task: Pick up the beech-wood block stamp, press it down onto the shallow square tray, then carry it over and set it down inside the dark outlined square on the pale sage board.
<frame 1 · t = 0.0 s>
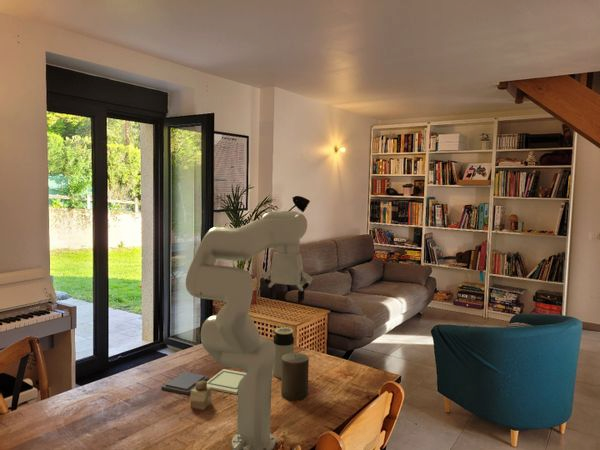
hand: (286, 300, 153), 37 cm above the table, tool pointing down, fingers open, 9 cm apart
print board: (229, 381, 174), on the table
stamp: (201, 405, 156), on the table
shallow square tray: (185, 384, 171), on the table
pillar candle: (294, 394, 166), on the table
travel mug: (282, 375, 182), on the table
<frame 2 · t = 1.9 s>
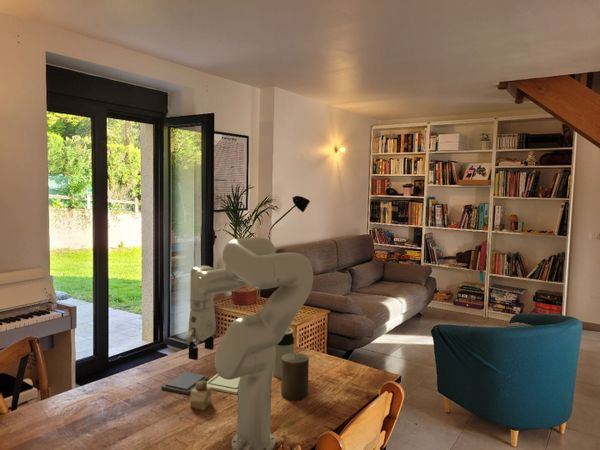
hand: (201, 353, 154), 18 cm above the table, tool pointing down, fingers open, 9 cm apart
nothing on the table moved.
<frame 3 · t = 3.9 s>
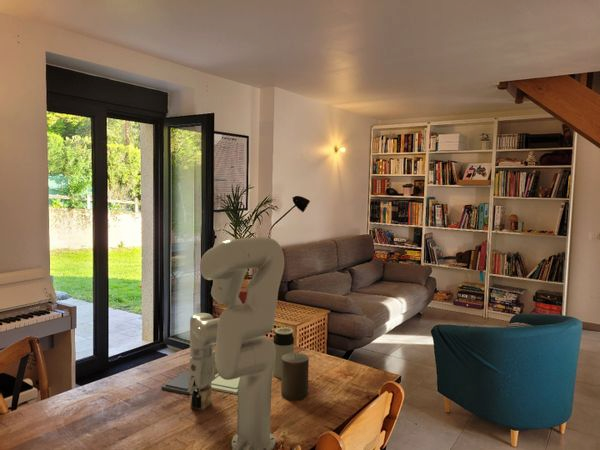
hand: (201, 402, 155), 1 cm above the table, tool pointing down, fingers closed on stamp, 5 cm apart
stamp: (201, 405, 156), on the table, touching gripper
everything else where it was.
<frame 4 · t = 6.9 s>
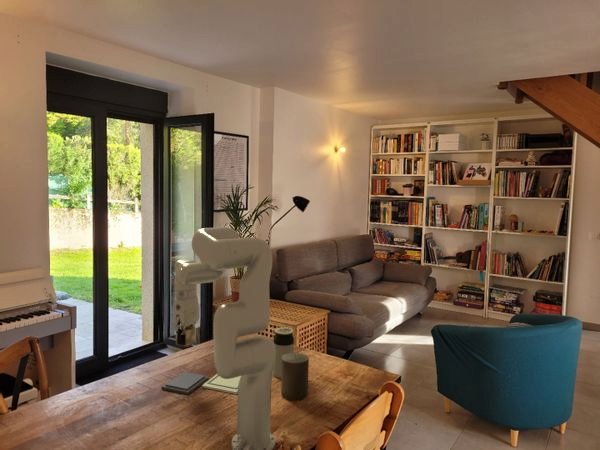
hand: (185, 341, 170), 16 cm above the table, tool pointing down, fingers closed on stamp, 5 cm apart
stamp: (185, 343, 170), point 15 cm above the table, touching gripper
everything else where it was.
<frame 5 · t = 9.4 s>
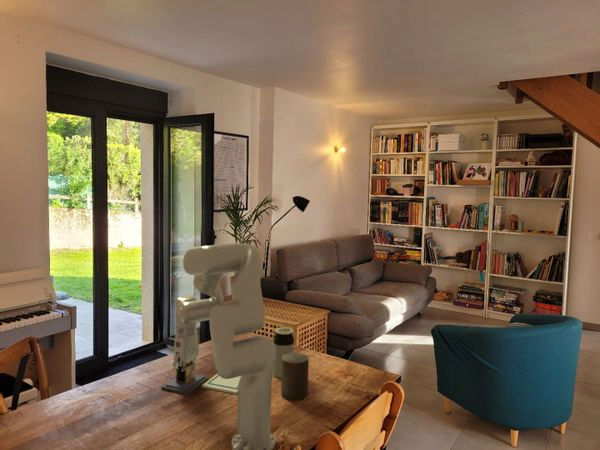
hand: (185, 377, 171), 3 cm above the table, tool pointing down, fingers closed on stamp, 5 cm apart
stamp: (185, 379, 171), point 2 cm above the table, touching gripper, shallow square tray
everything else where it was.
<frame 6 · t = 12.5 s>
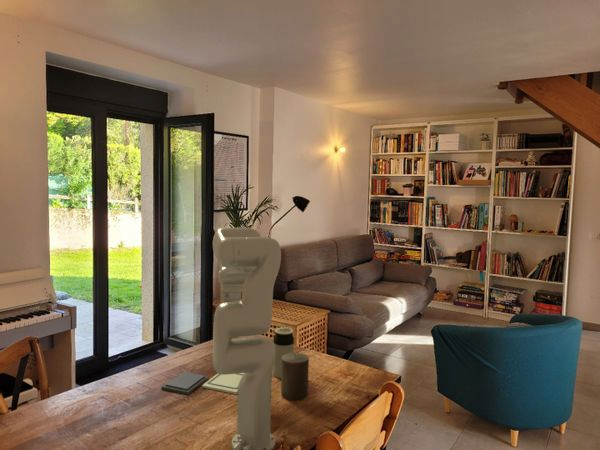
hand: (230, 342, 173), 15 cm above the table, tool pointing down, fingers closed on stamp, 5 cm apart
stamp: (230, 344, 173), point 14 cm above the table, touching gripper
everything else where it was.
when the fingers open (2 cm above the table, at t = 15.1 s): stamp stays where it is, resting on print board.
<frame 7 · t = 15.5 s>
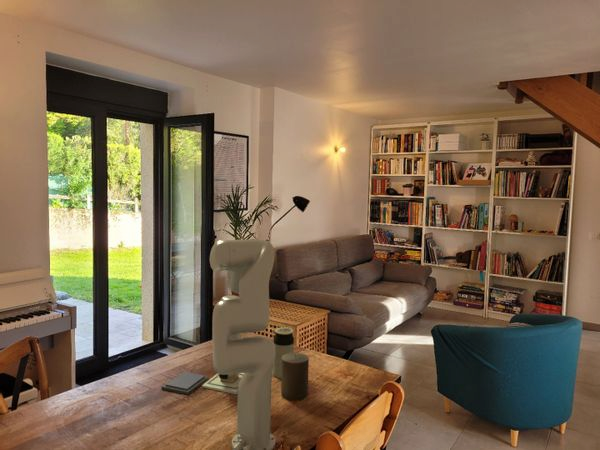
hand: (229, 373, 174), 3 cm above the table, tool pointing down, fingers open, 9 cm apart
stamp: (229, 379, 174), point 1 cm above the table, touching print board
everything else where it was.
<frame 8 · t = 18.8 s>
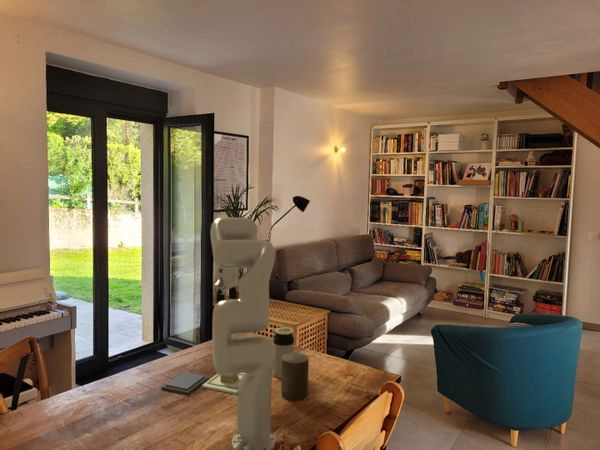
hand: (226, 301, 181), 28 cm above the table, tool pointing down, fingers open, 9 cm apart
nothing on the table moved.
at the end: stamp inside the target area on the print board (0.1 cm from its centre), point 0.8 cm above the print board's base; stamp tilted 0°; the gripper is holding nothing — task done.
